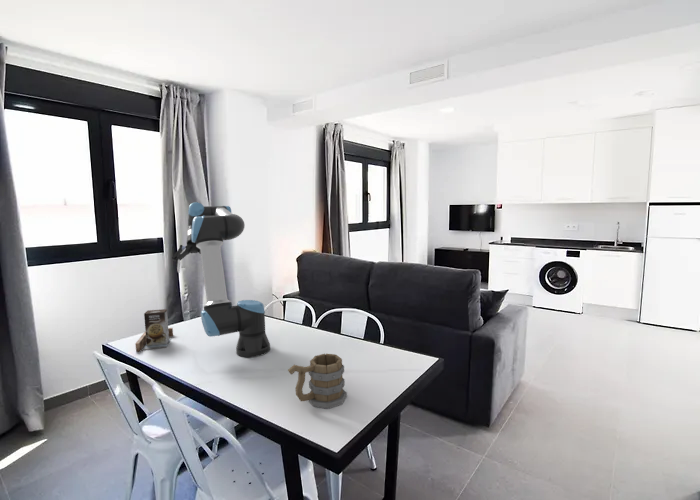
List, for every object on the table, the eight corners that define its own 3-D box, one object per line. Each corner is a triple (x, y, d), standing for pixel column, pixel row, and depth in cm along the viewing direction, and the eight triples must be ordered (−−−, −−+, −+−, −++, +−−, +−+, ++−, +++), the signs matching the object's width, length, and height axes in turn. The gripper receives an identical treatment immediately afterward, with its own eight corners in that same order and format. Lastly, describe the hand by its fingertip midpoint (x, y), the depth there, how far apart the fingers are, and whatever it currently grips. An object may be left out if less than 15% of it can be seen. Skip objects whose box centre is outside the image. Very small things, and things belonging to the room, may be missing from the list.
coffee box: (146, 346, 176) (143, 313, 174) (149, 341, 182) (146, 310, 180) (167, 344, 178) (164, 312, 176) (169, 339, 184) (167, 308, 182)
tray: (165, 348, 174) (164, 340, 173) (136, 351, 170) (135, 343, 170) (173, 335, 191) (172, 327, 191) (146, 337, 188) (145, 330, 188)
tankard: (335, 385, 135) (334, 346, 133) (352, 401, 124) (351, 359, 122) (283, 400, 126) (281, 358, 124) (296, 419, 115) (294, 373, 113)
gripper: (219, 242, 208) (218, 272, 196) (171, 244, 201) (167, 276, 189) (217, 233, 202) (217, 264, 190) (168, 235, 196) (164, 267, 183)
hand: (192, 270), depth 189 cm, fingers open, 13 cm apart
